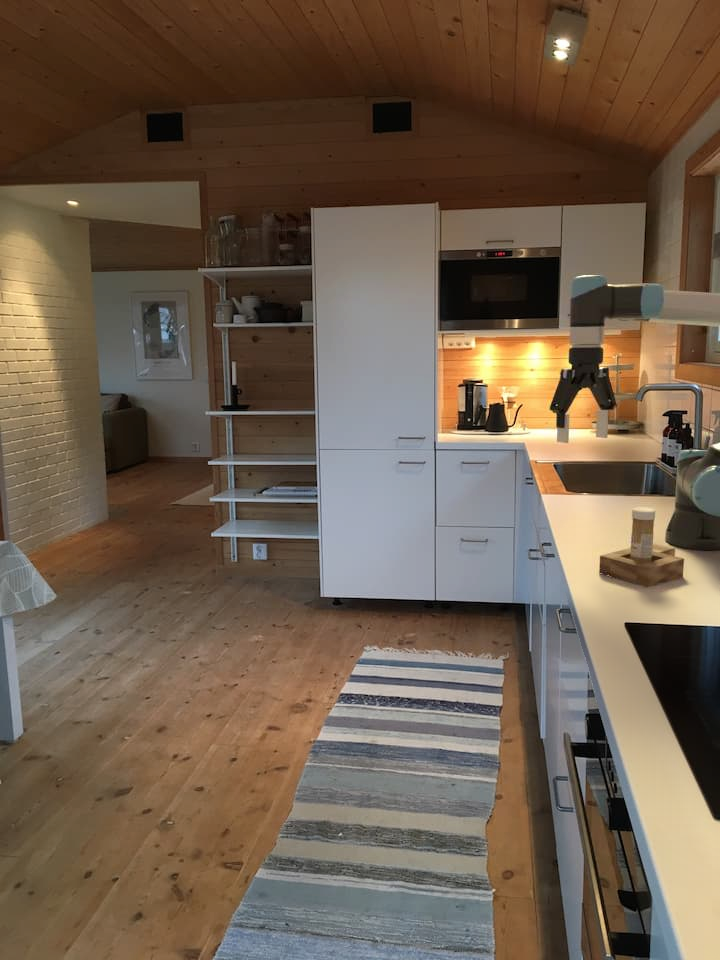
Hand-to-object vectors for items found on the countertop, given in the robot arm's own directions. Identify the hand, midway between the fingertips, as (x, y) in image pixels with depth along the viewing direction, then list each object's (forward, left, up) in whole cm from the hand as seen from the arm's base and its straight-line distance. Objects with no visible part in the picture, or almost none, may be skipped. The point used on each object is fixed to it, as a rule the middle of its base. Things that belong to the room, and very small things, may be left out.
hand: (582, 440), depth 176 cm
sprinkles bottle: (+4, +20, -26) cm, 33 cm away
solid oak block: (-5, +17, -27) cm, 32 cm away
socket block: (+4, +20, -27) cm, 34 cm away
